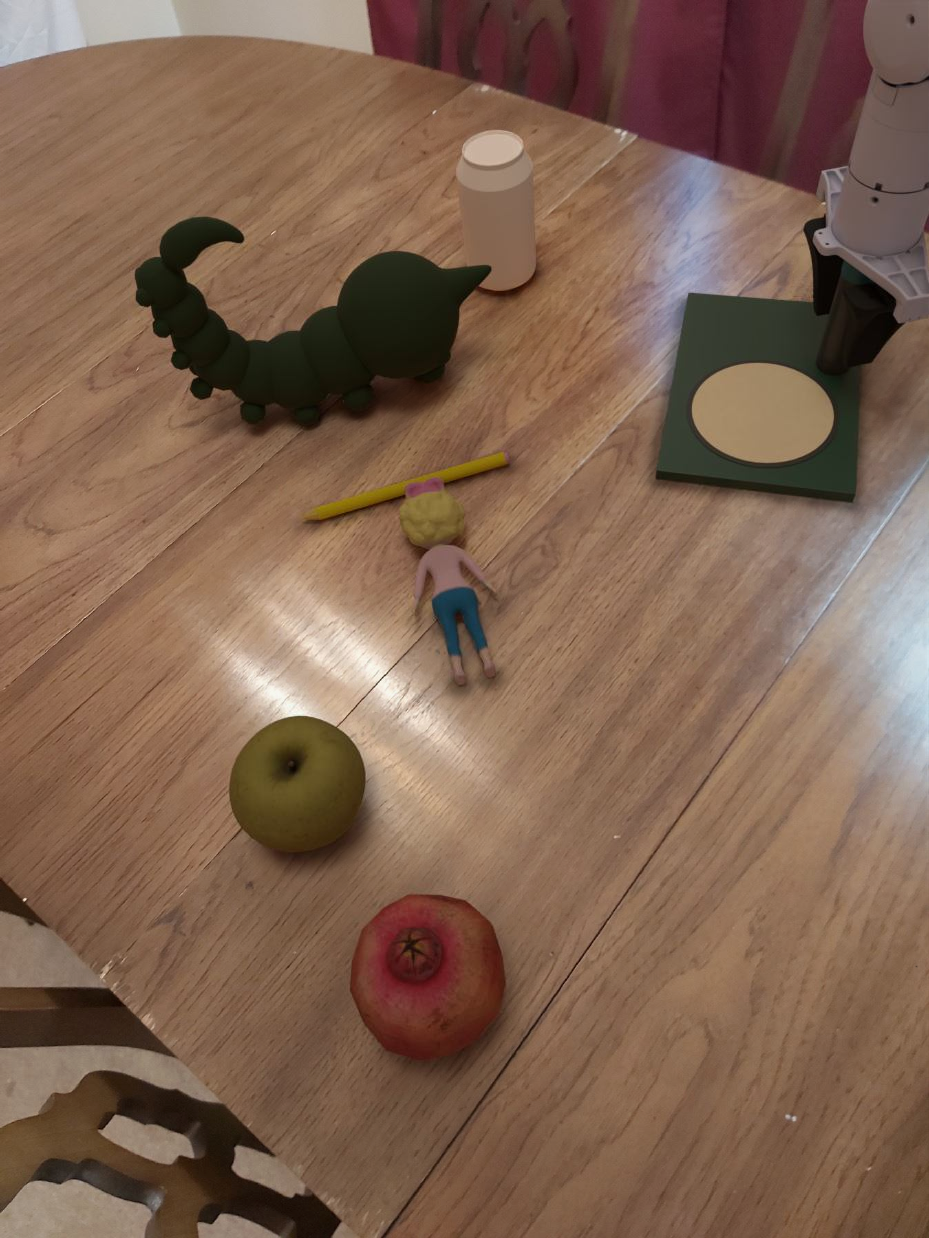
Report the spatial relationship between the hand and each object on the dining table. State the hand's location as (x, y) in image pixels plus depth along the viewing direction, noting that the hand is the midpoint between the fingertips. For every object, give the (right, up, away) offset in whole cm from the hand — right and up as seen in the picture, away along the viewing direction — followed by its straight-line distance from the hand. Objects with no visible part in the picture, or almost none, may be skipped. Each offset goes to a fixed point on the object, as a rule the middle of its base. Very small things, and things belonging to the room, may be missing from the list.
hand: (842, 336), depth 70 cm
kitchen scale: (-5, -4, +3) cm, 7 cm away
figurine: (-30, -20, -4) cm, 36 cm away
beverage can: (-25, +9, +13) cm, 30 cm away
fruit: (-30, -42, -19) cm, 55 cm away
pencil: (-33, -12, +1) cm, 35 cm away
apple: (-38, -33, -12) cm, 52 cm away
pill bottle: (0, -1, +2) cm, 3 cm away
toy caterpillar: (-38, -3, +7) cm, 39 cm away
